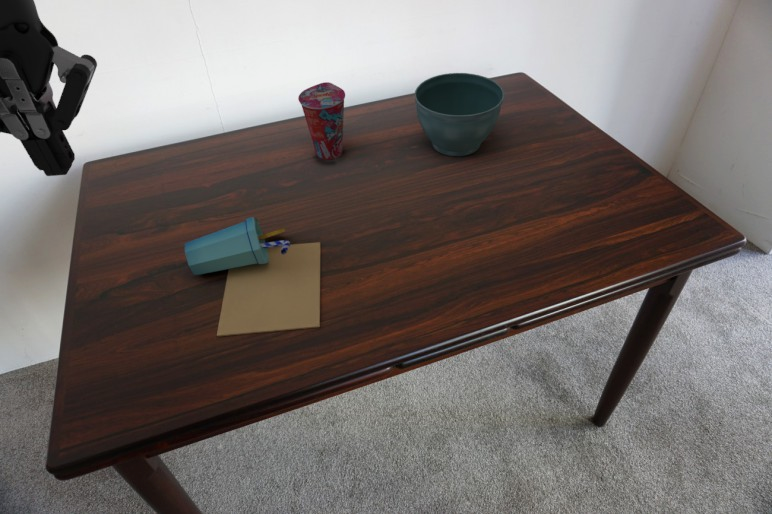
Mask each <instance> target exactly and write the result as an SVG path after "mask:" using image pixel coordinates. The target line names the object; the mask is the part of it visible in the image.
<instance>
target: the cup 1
mask: <svg viewBox="0 0 772 514" xmlns="http://www.w3.org/2000/svg"><path fill="white" fill-rule="evenodd" d="M285 232H286V229H285V227H283V228H279V229H277V230H274V231H271V232H267V233H263V230H262V228H261V226H260V223H259V221H258V219H257V218H255V217H254V216H250V217H248V218H246V219H245V221H242V222H239V223H236V224H233V225H231V226H229V227H226V228H223V229H220V230H217V231H214V232H212V233H209V234H206V235H203V236H201V237H198V238H195V239H192V240H190V241H187V242H185V243H184V254H185V257H186V261H187V264H188V265H187V266H188V267H189V269H190V271H191V273H192V275H193V276H200V275H204V274H205V275H206V274H211V273H215V272H216V273H217V272H221V271H226V270H229V269H231V268H236V267H242V266H247V265H252V264H257V263H258V264H266V263H268V262H269V258H268V252H267V248H271V247H277V246H283V247H282V249H281V253H282V254H284V255H285V254H286V253H287V250H288V248H289V246H290V245H291V241H289V240H285V239H284V240H283V239H282V240H275V241H270V242H266V241H265V239H267V238H270V237H274V236H276V235H279V234H281V233H285Z"/></svg>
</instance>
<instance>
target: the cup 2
mask: <svg viewBox="0 0 772 514" xmlns="http://www.w3.org/2000/svg"><path fill="white" fill-rule="evenodd" d="M345 98H346V92H345V90H344V89H343V88H342V87H339V86H337V85H336V84H334V83H332V82H329V81H327V82H326V81H325V82H321V83H318V84H314V85H313V86H310V87H308V88H306V89H303V90H302V91H301V92H300V93H299V95H298V99H297V100H298V102H299V104H300V105H301V108H302V112H303V115H304V118H305V122H306V125H307V128H308V131H309V134H310V135H309V136H310V138H311V141H312V144H313V147H314V150H315V155H316V156H317V157H318V158H319V159H321V160H326V161H329V160H335V159H338V158H339V157H340V156H342V154H343V148H344V147H343V145H344V144H343V142H344V117H345V116H344V115H345V113H344V112H345Z"/></svg>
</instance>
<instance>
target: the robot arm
mask: <svg viewBox="0 0 772 514" xmlns="http://www.w3.org/2000/svg"><path fill="white" fill-rule="evenodd" d="M54 66H56V69H57V76H58V79H59V82H61V83H62V84H64V86H63V89H62V92H61V95H60V97H59V100H58V103H57V106H56V103H55V100H54V91H53V88H52V86H51V83H50V81H51V78H52V73H53V70H54ZM97 67H98V61H97V60H96V59H95V57H94V56H92V55H90V54H83V55H81V56H78V55H76V54H75V53H72V52H71V51H69V50H67V49H65V48H63V47H61V46H59V42H58V39H57V38H56V36H55V35H54V34H53V33H52V31H50V30H49V29H48V28H47V26H46V25H44V23H43V21H42V20H41V19H40V16H39V12H38V10H37V6H36V3H35V0H0V133H2V134H7V135H12V136H13V137H14V138H15V139H16V140H19V141H20V143H21V145H22V146H23V148H24V150H25V151H26V153H27V155H28V157H29V158H30V160H31V162H32V164H33V165H34V167H35V168H37V169H38V170H39V171H43V173H44V175H45V176H46V177H55V176H56V177H57V176H66V175H68V173H69V171H70V170H71V168H72V166H73V163H74V161H75V159H76V155H75V154H76V153H75V152H74V150H73V148H72V146H71V144H70V142H69V140H68V138H67V136H66V135H65V133H64V131H66V130H69V129H70V128H71V125H72V123H73V121H74V120H75V118H77V117H78V116H79V113H80V111H81V109H82V106H83V103H84V101H85V98H86V95H87V93H88V90H89V87H90V85H91V84H92V83H91V82H92V80H93V77H94V74H95V72H96V70H97Z"/></svg>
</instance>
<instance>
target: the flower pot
mask: <svg viewBox="0 0 772 514" xmlns="http://www.w3.org/2000/svg"><path fill="white" fill-rule="evenodd" d="M504 99H505V91H504V89H503V87H502V86H501V85H500V83H498V82H497V81H495V80H493V79H491V78H489V77H488V76H487V77H486V76H484V75H479V74H474V73H468V72H450V73H442V74H438V75H435V76H431V77H429V78H427V79H425V80H424V81H422V82H421V83H419V85H418V86H417V87H416V89H415V91H414V101H415V106H416V107H415V108H416V114H417V118H418V121H419V124H420V126H421V128H422V130H423V132H424V135H426V137H427V138H428V139H429V141H431V145H432V147H433V148H434V150H436V151H437V152H438V153H440V154H442V155H445V156H449V157H466V156H469V155H472V154H473V153H475V152H477V151H478V150H479V149H480V147H481V144H482V143H483V142H484V141H485V140H486V139H487V138H488V137H489V135H490V134H491V132H492V131H493V129H494V127H495V126H496V123H497V121H498V119H499V116H500V112H501V108H502V104H503V102H504Z"/></svg>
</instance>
